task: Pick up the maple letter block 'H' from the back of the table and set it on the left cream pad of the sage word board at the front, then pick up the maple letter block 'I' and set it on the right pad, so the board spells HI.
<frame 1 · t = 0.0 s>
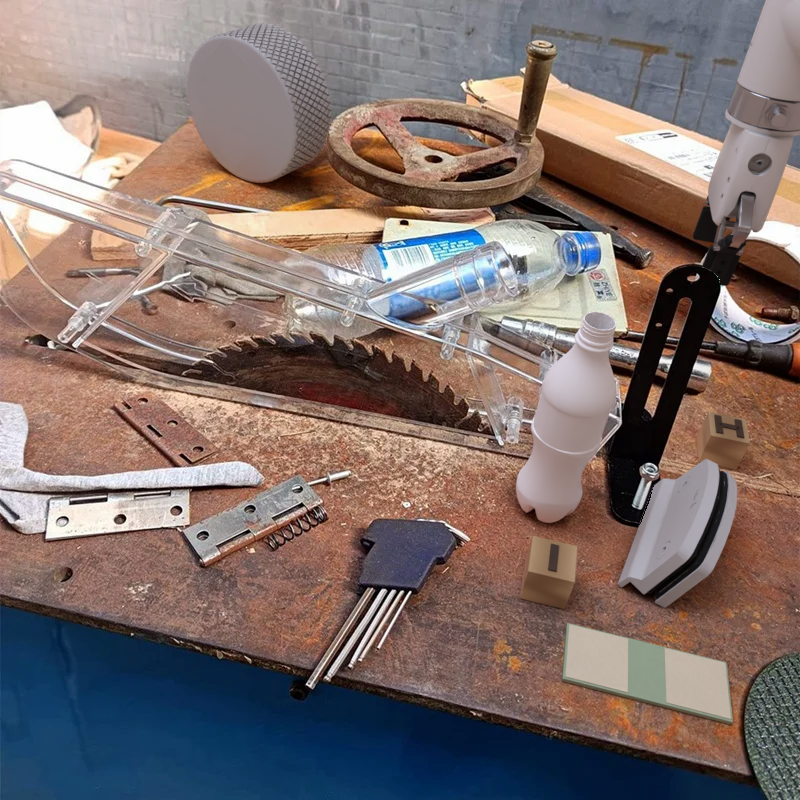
hand: (709, 260, 85), 22 cm above the table, tool pointing down, fingers open, 9 cm apart
knob: (261, 173, 143), on the table
water bottle: (543, 505, 85), on the table
tile I: (544, 585, 76), on the table
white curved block: (670, 549, 82), on the table
tile H: (715, 453, 93), on the table
word board: (644, 672, 70), on the table
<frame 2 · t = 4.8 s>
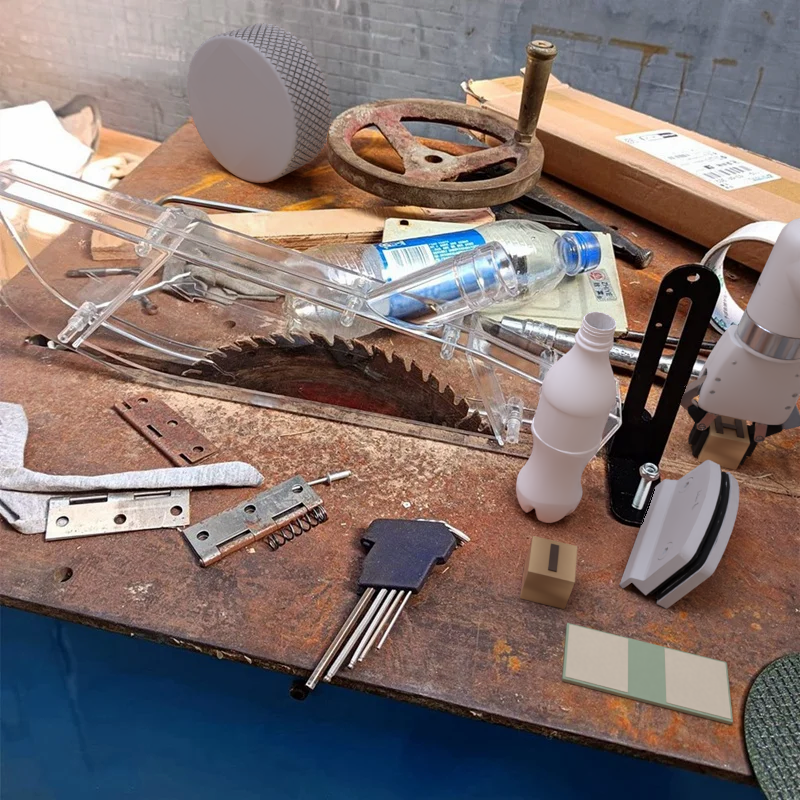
hand: (716, 451, 93), 0 cm above the table, tool pointing down, fingers closed on tile H, 4 cm apart
tile H: (715, 453, 93), on the table, touching gripper
everything else where it was.
when the fingers open (1 cm above the table, at t = 12.5 s): tile H stays where it is, resting on word board.
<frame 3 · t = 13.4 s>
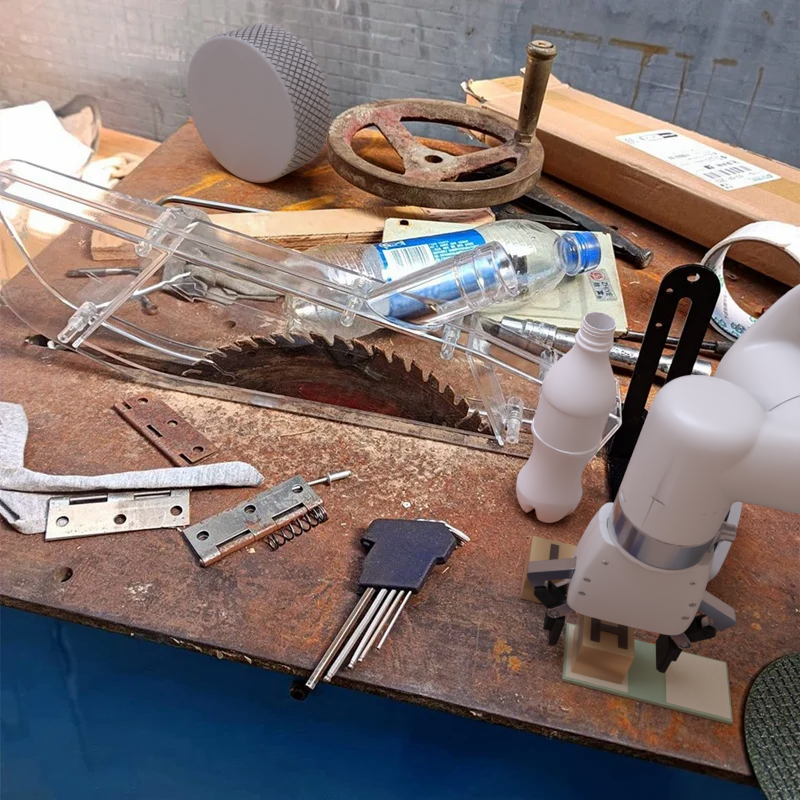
hand: (605, 644, 69), 3 cm above the table, tool pointing down, fingers open, 9 cm apart
tile H: (596, 656, 70), point 1 cm above the table, touching word board
everything else where it was.
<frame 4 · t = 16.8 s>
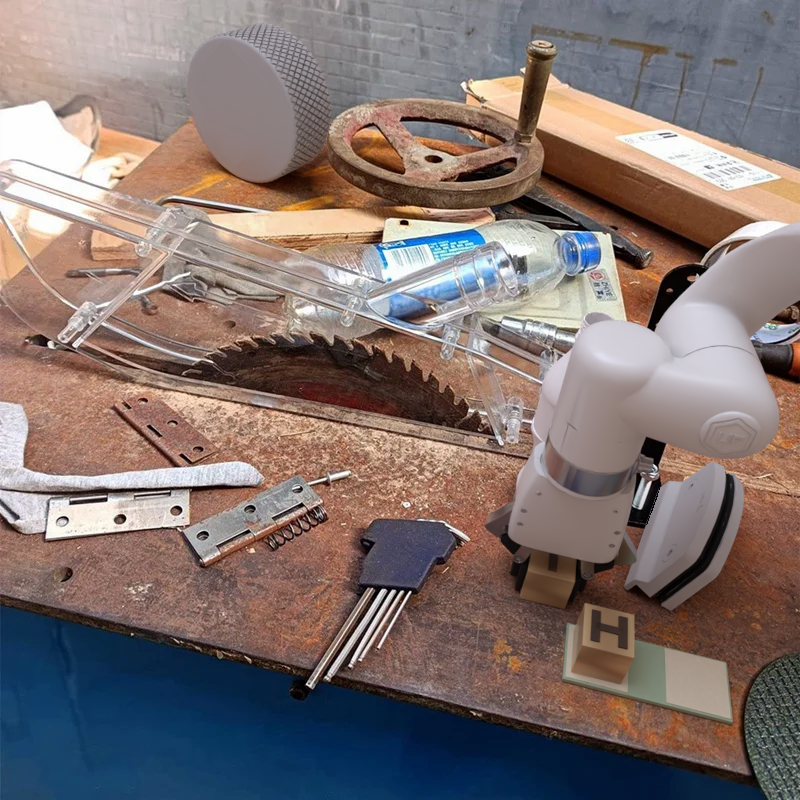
hand: (544, 583, 76), 0 cm above the table, tool pointing down, fingers closed on tile I, 4 cm apart
tile I: (544, 585, 76), on the table, touching gripper
everything else where it was.
when the fingers open (1 cm above the table, at t = 23.3 s): tile I stays where it is, resting on word board.
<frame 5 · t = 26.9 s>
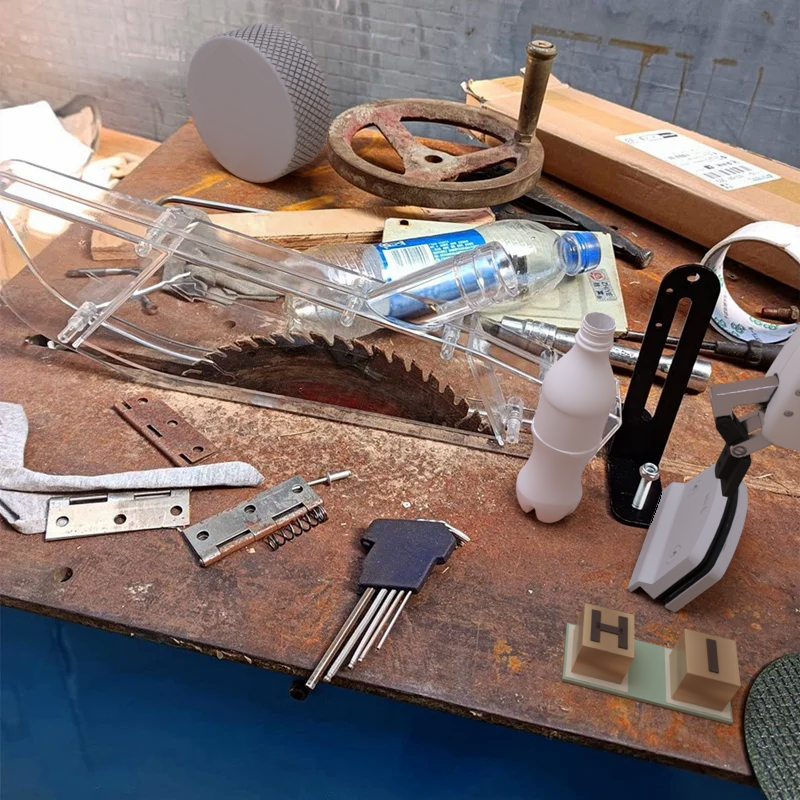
hand: (790, 498, 57), 22 cm above the table, tool pointing down, fingers open, 9 cm apart
tile I: (694, 682, 69), point 1 cm above the table, touching word board
at the end: tile H 0.1 cm from the target spot on the word board, point 0.6 cm above the word board's base; tile I 0.2 cm from the target spot on the word board, point 0.6 cm above the word board's base; tile I tilted 0° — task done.
